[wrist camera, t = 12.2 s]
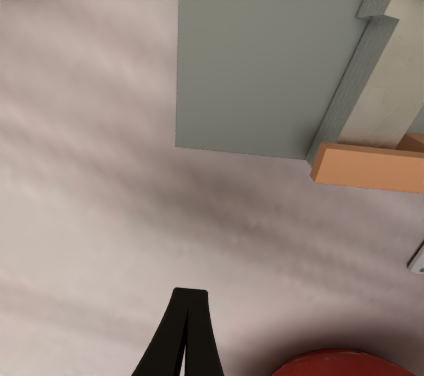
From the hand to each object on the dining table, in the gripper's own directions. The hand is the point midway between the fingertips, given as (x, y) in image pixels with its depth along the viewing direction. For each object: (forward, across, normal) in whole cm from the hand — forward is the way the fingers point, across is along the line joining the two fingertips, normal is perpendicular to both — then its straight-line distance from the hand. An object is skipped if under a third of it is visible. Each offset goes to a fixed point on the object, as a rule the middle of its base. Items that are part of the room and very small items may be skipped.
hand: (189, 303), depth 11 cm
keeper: (+9, -9, -5) cm, 14 cm away
